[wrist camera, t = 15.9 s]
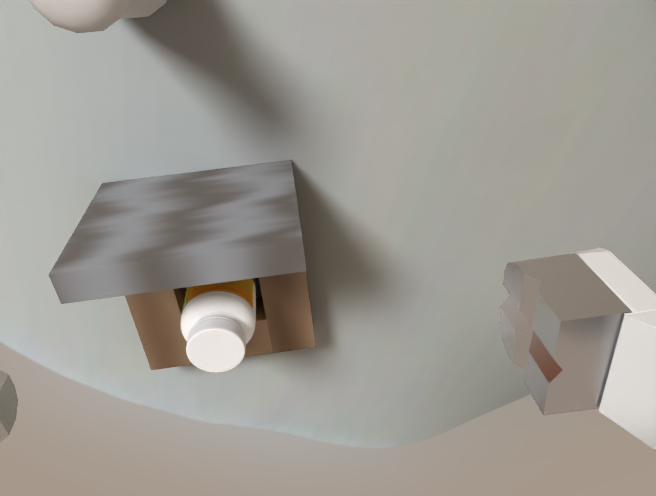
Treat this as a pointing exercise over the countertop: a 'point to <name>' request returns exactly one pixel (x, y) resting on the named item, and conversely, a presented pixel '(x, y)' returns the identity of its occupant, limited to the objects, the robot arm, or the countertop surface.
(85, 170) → the countertop surface
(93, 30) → the salt shaker
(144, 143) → the countertop surface
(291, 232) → the socket dock
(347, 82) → the countertop surface
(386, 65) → the countertop surface
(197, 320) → the supplement bottle
